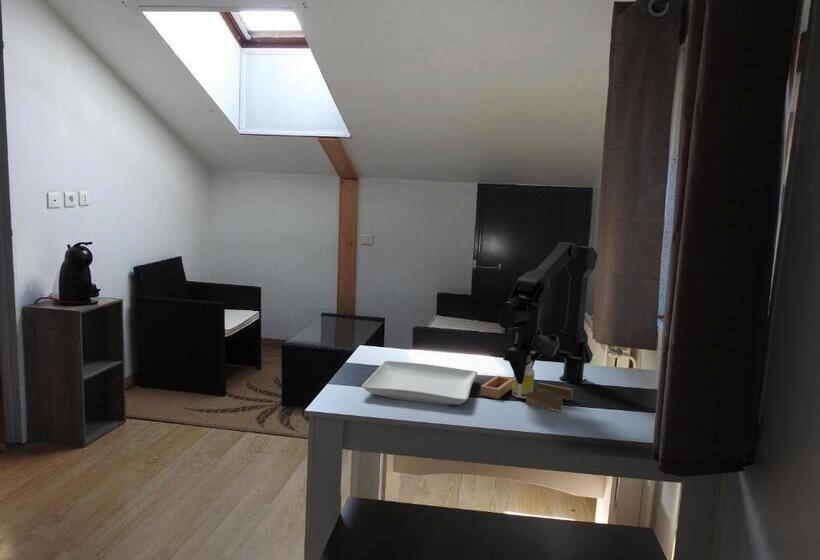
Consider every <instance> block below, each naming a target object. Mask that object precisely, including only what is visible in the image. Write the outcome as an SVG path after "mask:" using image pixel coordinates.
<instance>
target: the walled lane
mask: <svg viewBox="0 0 820 560" xmlns="http://www.w3.org/2000/svg"><path fill="white" fill-rule="evenodd" d="M573 390H574V389H573V388H570V387H566V386H565V387H563V386H558V385H554V384H548V383H544V382H539V383H538V386H537V393H534V392H533V393H530V392H528V393H527V398H525V399H526V400H525V405H526V404H528V405H527V406H531V405H533V406H532V407H536V406H538V407H537V408H540V407H543V408H542V409H545V408H549V409H548V410H550V409H554V410H559V411H561V410H562V409H563V401H564V400H563V399H567V400H566V401H568V400H571V399H572V400H573V392H574V391H573ZM540 394H541V395H540ZM545 395H546V396H545ZM550 396H553V397H550ZM555 397H558V398H555ZM560 398H563V399H560ZM572 400H571V401H572ZM554 410H553V411H554ZM559 411H558V412H559ZM562 411H563V410H562ZM562 411H561V412H562Z"/></svg>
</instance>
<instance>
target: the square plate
mask: <svg viewBox="0 0 820 560" xmlns="http://www.w3.org/2000/svg"><path fill="white" fill-rule="evenodd" d="M477 375H478V372H477V371H475V370H469V369H463V368H456V367H448V366H443V365H442V366H441V365H434V364H427V363H416V362H407V361H406V362H405V361H397V360H395V361H393V360H385V361H383V362H382V364H381V365H380V366H379V367H378V368H377V369H376V370H374V372H373V373H372V374H371V375H370V376H369V377H368V378H367V379H366V381H364V383H363V384H362V385H361V387H362V388H363V389H364V390H365V392H368V393H370V394H372V395H375V396H376V395H377V396H383V397H384V396H385V397H384V398H388V399H395V400H403V401H405V400H406V401H411V402H412V401H413V402H419V403H420V402H421V403H426V404H428V403H429V404H435V405H436V404H437V405H456V406H457V405H458V406H459V405H462V404H464V403H465V402H466V401H467V400H468V399H469V396H470V393H471V389H472V386H473V384H474V381H475V379H476V378H477Z"/></svg>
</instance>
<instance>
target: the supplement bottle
mask: <svg viewBox="0 0 820 560" xmlns="http://www.w3.org/2000/svg"><path fill="white" fill-rule="evenodd" d="M532 363H533V361H532V362H531V363H529V364H528V365H527V366H526V371H525V375H524V379H523V383H522V384H518V382H517V380H516V377H515V374H514V373H513V376H512V377H513V378H512V379H513V388H512V392H511V393H512V396H514V397H515V398H518V399H527V393H528V392H530V393H534V381H535V370H534V368H531V367H532Z"/></svg>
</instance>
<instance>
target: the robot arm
mask: <svg viewBox="0 0 820 560" xmlns="http://www.w3.org/2000/svg"><path fill="white" fill-rule="evenodd" d="M597 261H598V253H597V251H595V248H594V247H593V246H592V247H591V246H584V245H577V244H575V243H573V242H567V241H566V242H564V241H561V242H558V243H557V244H556V246H555V248H554V249H553V250H552V252H551V253H550V254H549V255H548V256H547V257H546V258H545V259H544V260H543V261H542V262H541V263H540V265H538V267H536V268H534V269H532V270H530V271H526V272H525V273H524V274H522V275H521V276H519V278H518V279H517V281H516V283H515V284H514V286H513V288H512V290H511V293H510V294H509V296H508V299H507V301H505V302H504V304H503V305H504V306H502V307H500V308H499V310H497V311H498V312H497V314H496V319H497V320H496V321H497V322H498V323H497V324H498V325H499V326H500V327H501V328H502V329H504V330H505V329H506V330H509V329H513V328H514V330H513V332H515V342H513V343H512V347H510V348H508V349H506V350H505V351H504V352H503V358H502V359H503V361H505V362H506V361H507V362H509V365H510V367H511V369H512V372H513V375H514V374H515V377H516V380H517V382H518V384H522V383H523V379H524V375H525V371H526V366H527V365H528V364H529V363H531V362H532V361H533V363H532V367H531V368H532V369H534V368H533V367H534V364H535V362H536V360H537V359H538V358H539V357H540V356H542V355H543V354H545V356H547V357H549V358H552V357H553V356H556V353H557V355H558V358H561V359H564V365H563V374H562V375H561V376H560V377H559V380H560V379H563V380H562V381H565V380H569V381H568V382H570V381H575V382H582V381H583V377H585V376H584V372H585V371H584V370H585V364H590V363H591V362H592V360H593V356H594V353H593V351H592V350H591V347H590V345H589V335H588V333H587V331H586V329H585V327H584V321H585V309H586V301H587V293H588V292H587V290H588V281H589V277H590V276H591V274H592V273H593V271H594V270H595V268H596V264H597ZM564 267H565V268H566V270H567V272H568V275H569V277H570V279H569V287H568V298H567V310H566V319H565V325H564V327H563V328H562V330H559V331H558V333H557V334H555V333H553V334H552V335H550V336H548V335H544V334H542V333H543V329H542V328H541V327H540V318H541V308H544V307H545V306H546V305H545V303H544V301H542V300H543V299H544V297H545V296H546V295H547V294H548V292H549V290H550V283H551V281H552V280H553V279H554V278H555V276H556V275H558V274H559V272H561V270H562V269H563V268H564ZM575 382H574V383H575ZM583 382H584V381H583ZM583 382H582V383H583Z"/></svg>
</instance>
